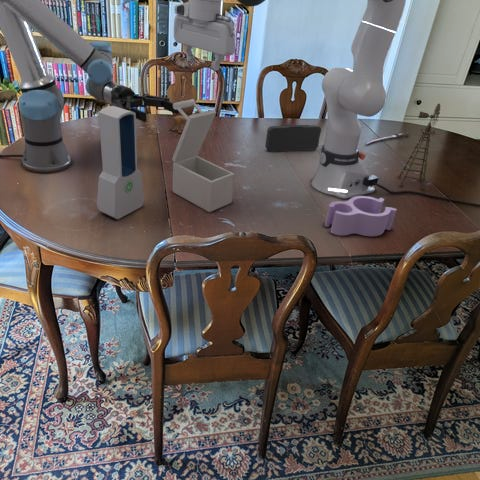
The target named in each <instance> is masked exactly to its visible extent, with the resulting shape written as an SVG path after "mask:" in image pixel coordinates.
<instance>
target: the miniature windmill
mask: <svg viewBox="0 0 480 480" xmlns="http://www.w3.org/2000/svg"><path fill="white" fill-rule="evenodd" d="M440 111H441V103H440V102H438V103H437V104H436V106H435V108H434V110H433V113H432V114H429V113H427V112H424V111H419V115H418V119H428V118H430V121H429V122H428V123H427V125H426V127H425V128H420V131H421V135H420V138H419V140H418V141H417V143H416V145H415V146H414V147H413V150H412V152H411V153H410V156H409V157H408V158H407V161H406V162H405V165H404V167H403V168H401V172H400V173H399V175H398V178H399V179H400V178H401V177H402V175H403V179H402V180H401V183H400V185H399V186H400V187H403V185H404V183H405V181H406V179H412V180H418V181H419V182H421V181H422V183H421V191H422V190H423V191H424V188H425V182H426V180H427V179H426V171H427V167H428V157H429V147H430V142H431V140H430V139H431V135H432V136H434V135H437V132H436V130H434V129H435V127H434V125H435V124H437V123H438V119H439V118H440V116H439V115H440V114H441V112H440ZM423 142H426V143H425V147H422V144H423ZM420 149H421V150H420ZM422 150H424V151H422ZM418 153H421V154H423V158H420V157H417V155H418ZM415 160H420V161H422V162H421V163H416V162H415ZM408 164H409V166H408ZM412 165H416V166H421V168H420V170H415V169H411V168H412ZM405 171H406V172H405ZM409 172H415V173H420V174H419V178H418V177H412V176H408V175H409Z"/></svg>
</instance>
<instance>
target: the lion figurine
mask: <svg viewBox="0 0 480 480" xmlns="http://www.w3.org/2000/svg"><path fill="white" fill-rule="evenodd" d="M198 113H200V112H199V111H198V110H197V109H196V110H195V111H194V112H193V113H192V114H191V115H194V114H198ZM186 122H187V120H186V118H185V117H184V116H183V115H176V116H175V117H174V118H173V119H172V123H171V127H170V128H169V130H168V131H169V132H171V131H176V130H177V132H178V133H179V134H182V132H183V130H180V128H181V126H182V125H183V126H185V124H186ZM176 126H177V127H176ZM175 127H176V128H175Z"/></svg>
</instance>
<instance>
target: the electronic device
mask: <svg viewBox="0 0 480 480" xmlns="http://www.w3.org/2000/svg"><path fill="white" fill-rule="evenodd" d="M98 123H99V136H100V137H99V138H100V147H101V149H100V151H101V164H102V171H101V173H100V174H99V176H98V182H97V194H96V206H97V209H98V211H99V212H101V213H102V214H104V215H107V216H108V217H111V218H113V219H115V220H120V219H121V218H123V217H124V216H125V217H126V216H127V215H128V214H130V213H132V212H135V211H136V210H138V209H140V208H142V207H143V206H144V203H145V196H144V195H145V193H144V186H143V177H142V171H141V170H140V169H139V168H138V149H137V148H138V147H137V144H138V143H137V119H136V113H134V112H131V111H128V110H125V109H122V108H119V107H115V106H113V105H109V106H105V107H104V108H102V109H101V110H99V111H98Z"/></svg>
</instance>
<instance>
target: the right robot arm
mask: <svg viewBox="0 0 480 480" xmlns="http://www.w3.org/2000/svg"><path fill="white" fill-rule="evenodd" d="M236 1H237V2H238V3H240V4H241V5H243V6H246V7H256V6H259V5H261V4H263V3H264V2H265V1H266V0H236ZM366 2H367V3H366V8H365V12H364V13H363V15H362V18H361V21H360V23H359V26H358V27H357V30H356V33H355V35H354V38H353V40H352V43H351V47H350V50H351V55H352V57H353V66H352V69H350V68H347V67H333V68H331V69H330V70H328V71H327V72H326V73H325V75H323V78H322V81H321V90H322V92H323V94H324V97H325V104H326V113H327V123H326V124H327V125H326V131H325V137H324V142H323V144H322V146H321V150H320V155H319V163H318V167H317V170H316V172H315V175H314V177H313V179H312V181H311V185H312V188H314V189H315V190H316V191H319V192H321V193H323V194H326V195H330V196H335V197H338V198H340V199H351V198H352V197H356V196H364V195H368V194H372V193H375V186H376V187H378V188H380V189H382V190H384V191H385V192H387V193H389V194H392V195H393V194H394V195H398V194H399V195H400V194H415V195H421V196H425V197H429V198H430V197H431V198H435V199H439V200H443V201H444V200H445V201H449V202H454V203H460V204H465V205H469V206H475V207H480V203H474V202H469V201H465V200H460V199H454V198H449V197H444V196H440V195H434V194H429V193H425V192H420V191H414V190H400V191H398V190H397V191H393V190H389V189H388V188H387V187H385V186H383V185H381V184H379V183H378V182H379V177H378V176H376V175H373V174H372V175H371V174H370V171H369V169H367V168H366V167H365V166H364V165H363V163H362V162H361V161H359V159H360V160H362V161H363V160H365V158H366V154H365V153H363V152H362V151H361V152H360V151H359V150H358V146H359V141H360V137H361V133H362V127H361V124H360V122H359V119H358V116H362V117H367V118H369V117H374V116H376V115H378V114H379V113H380V112H381V111H382V109H384V107H385V105H386V101H387V91H386V89H385V86H384V85H385V84H384V72H385V65H386V60H387V57H388V55H389V52H390V50H391V47H392V44H393V42H394V39H395V37H396V34H397V32H398V30H399V27H400V24H401V21H402V19H403V15H404V12H405V7H406V3H407V0H367V1H366ZM223 3H224V0H188V1H186V2H183V3H180V4H177V5H175V6H174V9H173V10H174V14H175V16H174V20H173V39H174V41H175V43H177V44H181V45H183V50H184V53H185V56H186V63H189V64H194V63H195V61H196V60H195V59H196V57H195V55H193V50H192V49H193V48H195V49H199V50H202V51H205V52H208V53H209V52H210V53H212V54H214V55H213V56H214V58H215V59H214V60H213V62H211V63H210V64H211V65H210V69H211V70H212V71H219V70H220V65H221V62H222V61H223V59H224V57H228V56H233V55H234V54H235V52H236V30H235V29H236V23H235V22H234V20H233V19H232V17H231V16H227V15H226V16H225V15H223V5H224V4H223Z"/></svg>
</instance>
